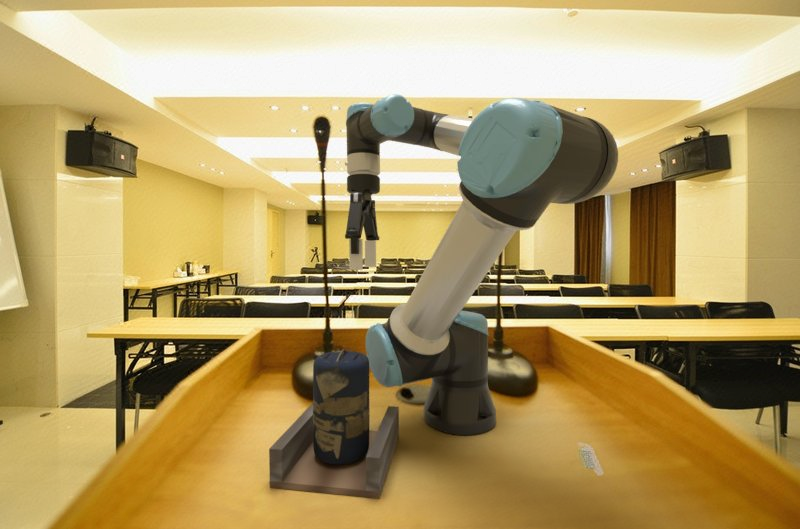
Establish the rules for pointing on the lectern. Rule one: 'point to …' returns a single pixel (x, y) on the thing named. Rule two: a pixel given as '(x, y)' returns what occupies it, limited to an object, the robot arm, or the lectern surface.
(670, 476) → the lectern surface
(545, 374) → the lectern surface
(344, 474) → the holder
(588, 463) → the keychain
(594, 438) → the lectern surface
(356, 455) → the canister
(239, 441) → the lectern surface
